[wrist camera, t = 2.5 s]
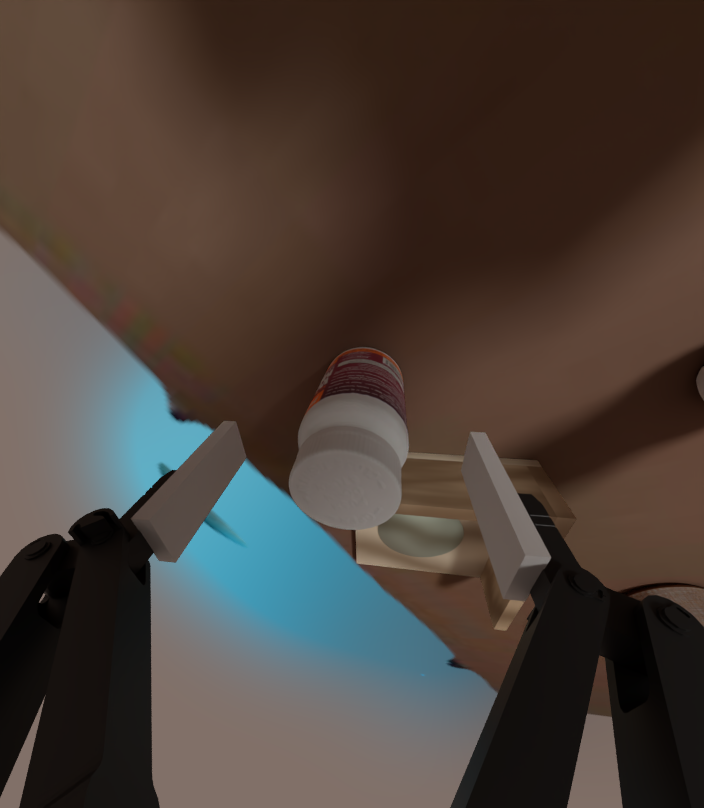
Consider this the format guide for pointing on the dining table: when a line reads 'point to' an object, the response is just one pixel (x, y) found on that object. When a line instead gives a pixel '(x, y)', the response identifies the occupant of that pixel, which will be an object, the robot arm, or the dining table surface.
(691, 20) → the dining table surface
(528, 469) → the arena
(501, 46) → the dining table surface
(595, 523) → the dining table surface
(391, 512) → the pill bottle
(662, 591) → the planter
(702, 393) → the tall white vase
